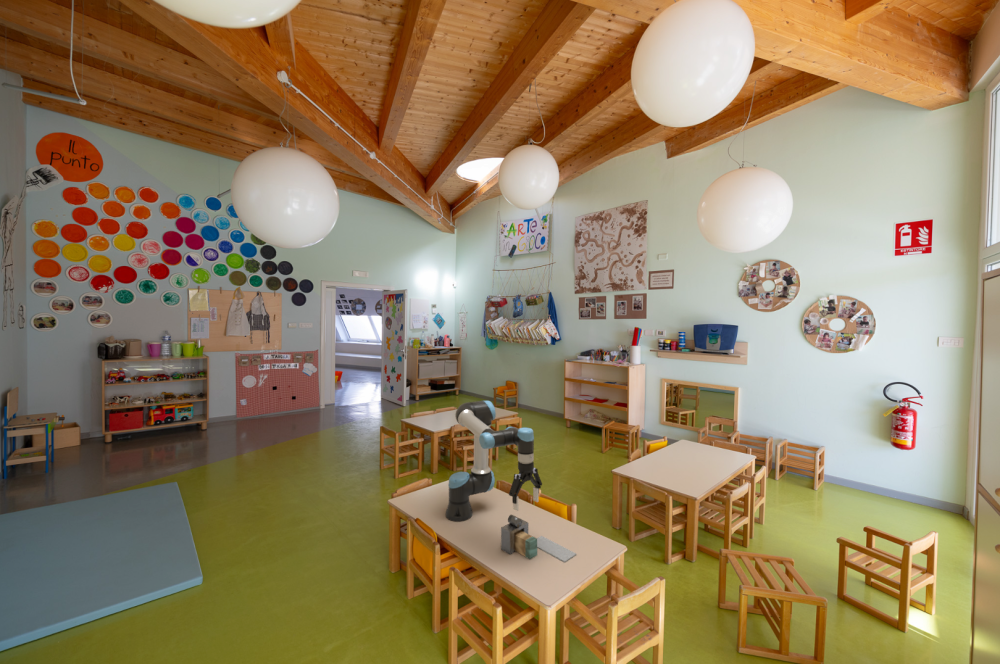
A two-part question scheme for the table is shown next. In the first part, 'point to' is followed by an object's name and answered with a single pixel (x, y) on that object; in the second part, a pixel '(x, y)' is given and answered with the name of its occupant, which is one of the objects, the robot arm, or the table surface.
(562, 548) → the mat
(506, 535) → the housing
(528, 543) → the plug
